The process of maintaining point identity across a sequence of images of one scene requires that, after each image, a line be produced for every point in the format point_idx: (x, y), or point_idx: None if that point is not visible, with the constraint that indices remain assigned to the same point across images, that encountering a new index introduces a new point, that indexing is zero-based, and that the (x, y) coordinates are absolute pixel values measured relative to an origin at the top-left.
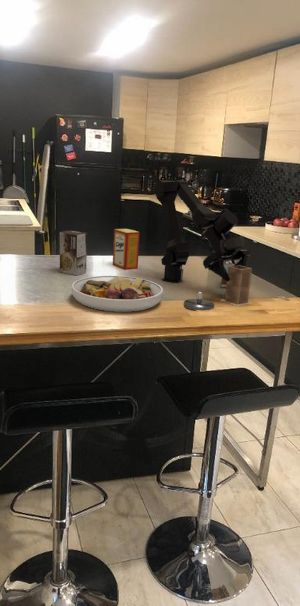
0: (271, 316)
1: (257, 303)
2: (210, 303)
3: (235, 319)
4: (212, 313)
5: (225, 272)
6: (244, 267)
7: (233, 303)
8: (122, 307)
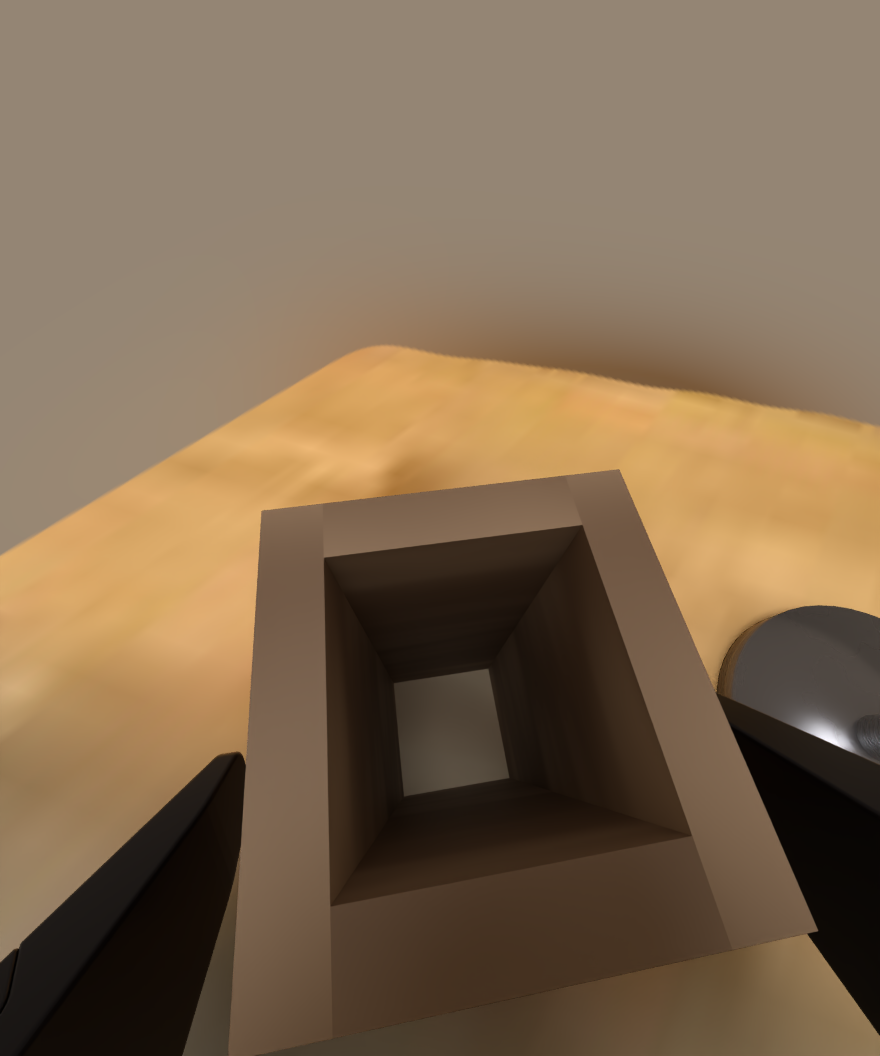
0: (421, 418)
1: None
2: (766, 698)
3: (664, 444)
4: (774, 567)
5: (842, 753)
6: (327, 687)
7: None
8: None
